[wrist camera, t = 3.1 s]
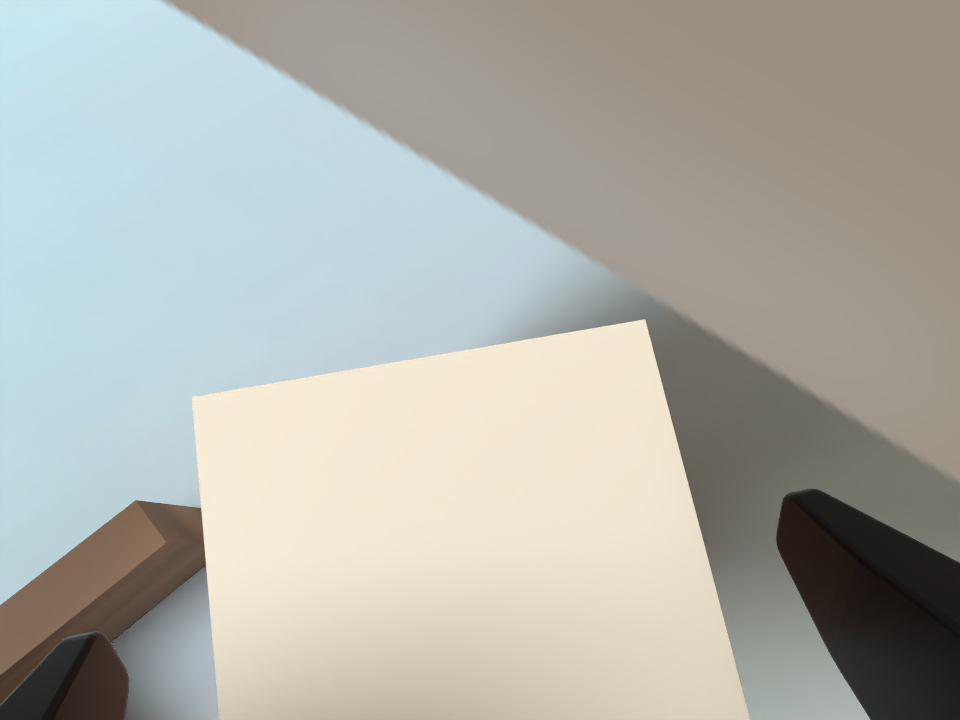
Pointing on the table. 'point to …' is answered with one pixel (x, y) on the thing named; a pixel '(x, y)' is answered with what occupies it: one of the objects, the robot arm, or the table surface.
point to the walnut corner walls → (101, 584)
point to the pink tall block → (461, 542)
